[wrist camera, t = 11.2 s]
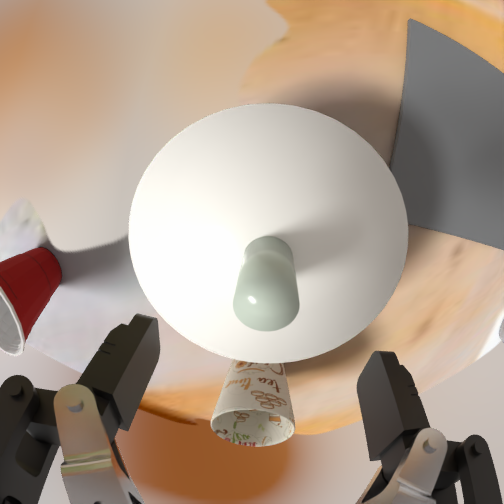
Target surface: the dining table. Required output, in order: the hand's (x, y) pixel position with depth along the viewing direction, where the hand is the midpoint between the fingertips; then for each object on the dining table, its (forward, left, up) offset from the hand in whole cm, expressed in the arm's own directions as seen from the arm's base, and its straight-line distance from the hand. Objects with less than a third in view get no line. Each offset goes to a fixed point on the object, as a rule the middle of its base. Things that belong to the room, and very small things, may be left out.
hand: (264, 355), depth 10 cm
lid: (0, +1, -10) cm, 10 cm away
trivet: (-20, -12, -17) cm, 29 cm away
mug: (-1, +20, -17) cm, 27 cm away
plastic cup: (+27, +10, -17) cm, 34 cm away
